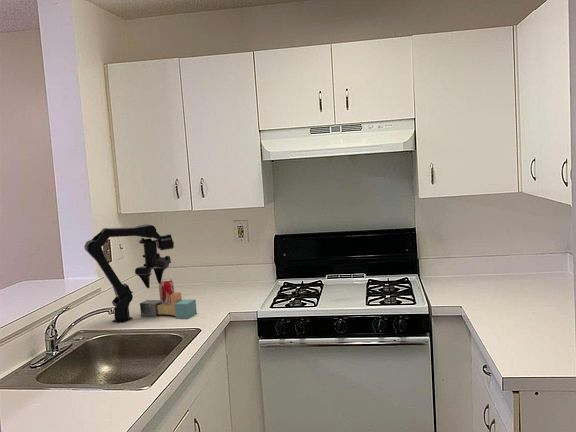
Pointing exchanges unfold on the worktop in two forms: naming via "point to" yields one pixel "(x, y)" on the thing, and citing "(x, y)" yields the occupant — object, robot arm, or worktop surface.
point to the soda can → (166, 290)
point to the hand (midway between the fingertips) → (154, 285)
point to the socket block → (185, 308)
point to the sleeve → (149, 308)
